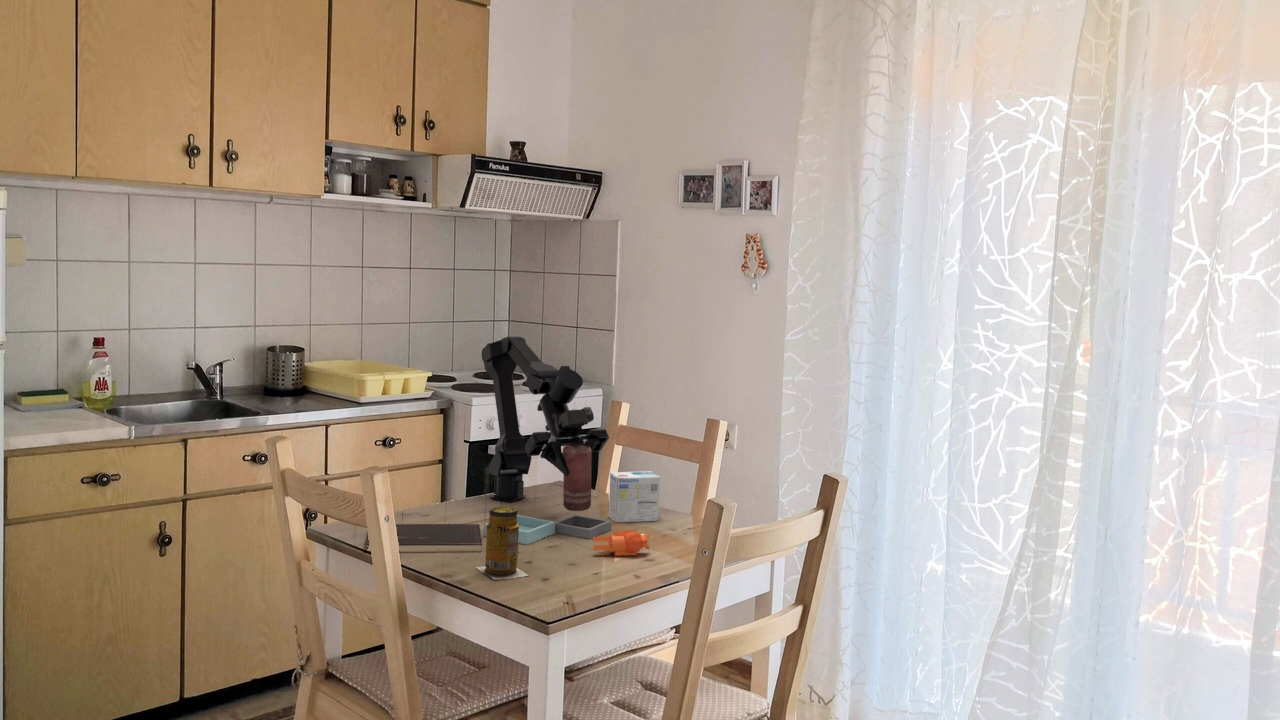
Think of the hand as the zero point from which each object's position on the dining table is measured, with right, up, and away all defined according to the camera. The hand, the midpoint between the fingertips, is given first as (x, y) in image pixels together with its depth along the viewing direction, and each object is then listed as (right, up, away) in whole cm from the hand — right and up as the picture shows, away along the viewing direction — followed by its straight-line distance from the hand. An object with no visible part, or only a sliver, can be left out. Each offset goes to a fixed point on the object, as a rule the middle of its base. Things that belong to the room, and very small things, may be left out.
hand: (579, 474), depth 224 cm
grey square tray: (0, -13, +3) cm, 13 cm away
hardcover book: (-32, -14, -11) cm, 36 cm away
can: (-1, -8, +3) cm, 8 cm away
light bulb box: (+12, -13, +17) cm, 24 cm away
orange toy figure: (+9, -15, -12) cm, 22 cm away
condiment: (-13, -16, -29) cm, 35 cm away
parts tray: (-13, -13, -2) cm, 18 cm away
